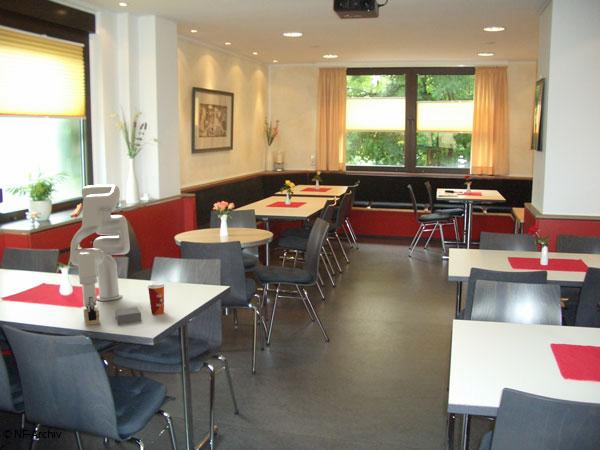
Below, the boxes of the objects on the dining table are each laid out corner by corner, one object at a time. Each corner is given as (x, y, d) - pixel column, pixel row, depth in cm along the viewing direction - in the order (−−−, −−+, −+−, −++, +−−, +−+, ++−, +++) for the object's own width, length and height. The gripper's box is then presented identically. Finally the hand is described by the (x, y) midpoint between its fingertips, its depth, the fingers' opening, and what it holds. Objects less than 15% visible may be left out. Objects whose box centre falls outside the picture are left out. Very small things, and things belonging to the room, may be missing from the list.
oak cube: (84, 321, 283) (83, 308, 282) (98, 319, 285) (97, 306, 284) (85, 325, 277) (84, 312, 277) (99, 323, 280) (98, 310, 279)
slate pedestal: (115, 318, 286) (114, 309, 285) (137, 315, 290) (137, 306, 289) (118, 324, 277) (117, 315, 276) (141, 321, 281) (140, 312, 280)
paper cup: (162, 315, 288) (160, 285, 286) (146, 315, 289) (144, 285, 287) (169, 310, 295) (167, 281, 293) (153, 310, 297) (151, 281, 295)
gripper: (78, 276, 285) (81, 313, 287) (81, 284, 269) (84, 323, 271) (95, 274, 288) (98, 311, 290) (99, 282, 272) (102, 321, 274)
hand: (91, 317), depth 281 cm, fingers open, 9 cm apart
